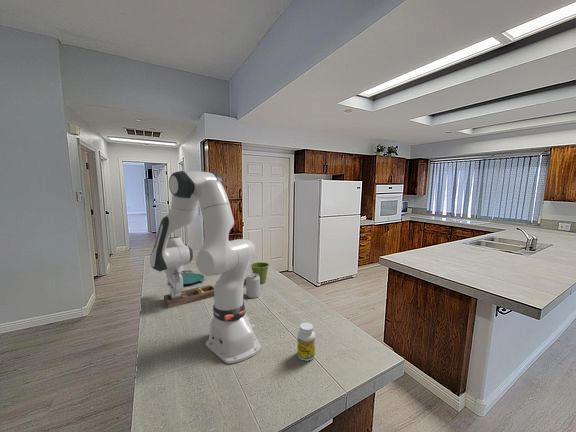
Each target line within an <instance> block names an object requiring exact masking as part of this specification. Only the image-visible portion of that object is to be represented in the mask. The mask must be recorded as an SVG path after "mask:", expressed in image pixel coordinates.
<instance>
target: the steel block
mask: <svg viewBox="0 0 576 432" xmlns="http://www.w3.org/2000/svg"><path fill="white" fill-rule="evenodd" d="M168 288H169V289H168V290H169V294H170V301H172V300H176V299H180V298H181V291H179V296H175V293H174V292H175V290H174V288H173V287H172V285H171V284H170V285H169V287H168Z"/></svg>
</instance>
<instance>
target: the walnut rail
mask: <svg viewBox="0 0 576 432" xmlns="http://www.w3.org/2000/svg"><path fill="white" fill-rule="evenodd" d="M214 286H215V284H213V283H212V284H207V285H204V286H203V285H202V286H199V287H194V288H191V289H185V290H182V291H181V298H180V299H176V300H172V301H170V293H168V294H164V295H163V301H164V303H165V304H166V307H167V309H171V308H174V307H179V306H182V305H185V304H191V303H194V302H197V301H198V302H199V301H201V300H202V301H203V300H205V299H209V298H212V297H213V298H214Z"/></svg>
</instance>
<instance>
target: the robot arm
mask: <svg viewBox="0 0 576 432" xmlns="http://www.w3.org/2000/svg"><path fill="white" fill-rule="evenodd" d="M168 188H169V190H170V193H171V194H172V197H171V203H170V204H171V205H170V209H169V211H168V213H167V214H166V215H165V216H164V217H162V219H161V221H160V224H159V227H158V231H157V233H156V234H157V235H156V238H155V242H154V245H153V249H152V251H151V254H150V257H149V263H150V264H149V265H150V267H151V268H152V269H154V270H155V271H157V272H163V271H164V273H165V274H166V279H167V281H168V283H169V284H170V285H172V287H173V288H174V290H175V292H174V293H175V296H179V291H184V285H183V279H182V275H181V273H183V272H182V271H185V269H184V266H186V265H189V264H191V262H192V261H193V258H194V253H193V249H192V248H191V247H190V246H188V245H186V244H185V243H184V242H183V240H182V237H181V236H172V237H170V236H171V235H172V234H173V233H174V232H175V231H177V230H179V229H181V228H184V227H186V226H188V225H191V223H193V222H194V220H196V218H197V215H198V209H199V208H200V211H201V215H202V219H203V225H204V232H205V233H204V234H205V235H204V241H203V244H202V247H201V248H200V250H199V251H198V253H197V254H196V259H195V264H196V267H197V271H199V273H200V274H201V275H203V276H206V277H210V276H211V277H212V276H218V275H220V276H219V278H218V279H217V280H216V282H215V284H214V297H213V300H214V302H213V306H212V307H213V308H212V312H213V313H212V315H213V317H212V319H211V321H210V323H209V334H208V335H209V337H208V339H207V340H206V341H205V347H206V348H207V349H209V350H210V351H211V352H212V353H213V354H215V355H216V356H217V357H218V358H219V359H220V360H222V361H223V362H224V363H225V364H235V363H239V362H240V363H241V362H243V361H245V360H248V359H249V358H252V357H253V356H255V355H256V354H258V353H259V352H260V351H261V349H262V346H261V343H260V342H259V340H258V338H257V336H256V335H255V332H254V331H256V325H255V324H253V323H252V324H251V322H250V320H251V319H250V317H249V316H248V315H247V313H246V311H247V310H246V305H245V301H244V283H245V279H246V277H247V276H246V275H247V272H248V269H249V267H250V265H251V264H252V261H253V260H254V259H255V256H256V253H257V252H256V246H255V245H254V242H252V241H251V240H250V239H247V238H238V239H234V240H233V239H231V240H229V239H230V238H229V237H230V236H229V235H230V231H231V230H232V228H234V225H235V219H234V214H233V212H232V208H231V204H230V201H229V200H230V199H229V197H228V195H227V191H226V190H225V188H224V180H223V178H222V176H221V175H220V174H219V173H217V172H212V171H209V172H207V171H199V170H188V171H187V170H186V171H183V170H178V171H175V172H172V174H171V175H170V176H169V179H168Z"/></svg>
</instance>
